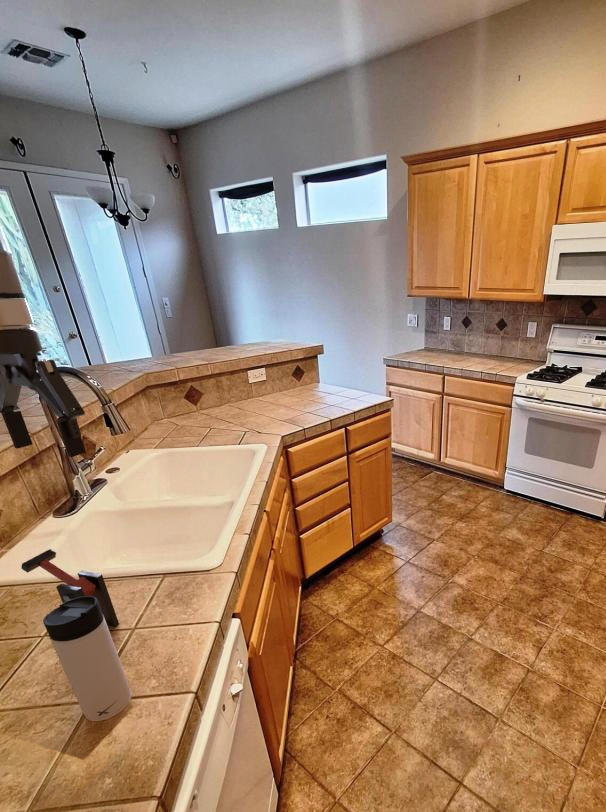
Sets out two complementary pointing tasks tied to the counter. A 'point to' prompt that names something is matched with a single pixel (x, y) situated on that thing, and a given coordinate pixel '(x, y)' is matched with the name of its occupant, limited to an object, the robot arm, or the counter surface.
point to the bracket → (99, 593)
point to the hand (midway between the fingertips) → (50, 450)
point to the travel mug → (88, 657)
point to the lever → (57, 571)
